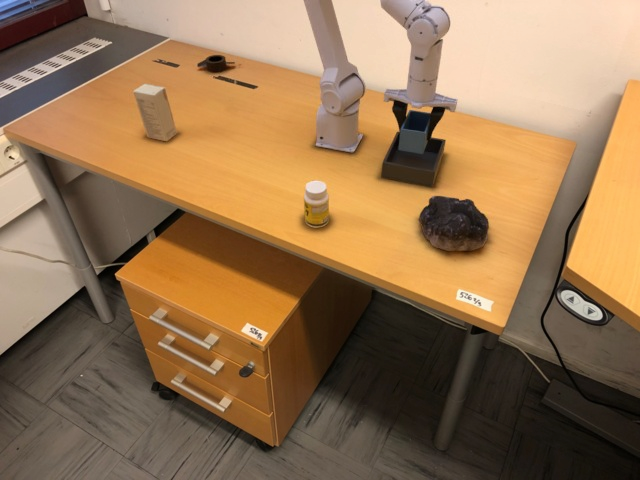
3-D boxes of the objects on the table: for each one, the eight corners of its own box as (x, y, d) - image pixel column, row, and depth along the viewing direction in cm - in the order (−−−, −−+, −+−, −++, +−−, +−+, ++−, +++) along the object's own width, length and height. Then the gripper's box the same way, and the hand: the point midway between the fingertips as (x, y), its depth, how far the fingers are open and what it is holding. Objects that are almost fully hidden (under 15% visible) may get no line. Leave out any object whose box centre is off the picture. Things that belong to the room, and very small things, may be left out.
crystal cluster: (441, 204, 106) (442, 164, 99) (504, 226, 99) (510, 185, 92) (405, 242, 99) (404, 202, 93) (470, 269, 92) (474, 228, 85)
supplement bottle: (304, 213, 104) (302, 179, 98) (327, 212, 104) (327, 178, 98) (305, 229, 100) (304, 195, 94) (329, 227, 100) (329, 193, 95)
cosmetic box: (177, 133, 127) (166, 87, 118) (166, 142, 124) (155, 95, 116) (156, 128, 129) (144, 82, 120) (145, 136, 126) (132, 90, 118)
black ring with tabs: (211, 60, 158) (209, 51, 156) (238, 66, 154) (236, 57, 153) (195, 70, 153) (193, 60, 151) (223, 76, 150) (221, 67, 148)
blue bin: (422, 154, 107) (425, 133, 103) (398, 150, 108) (400, 129, 105) (430, 134, 113) (433, 113, 109) (407, 130, 114) (409, 109, 111)
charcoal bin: (381, 177, 112) (382, 162, 109) (395, 146, 121) (396, 131, 118) (432, 187, 109) (435, 172, 106) (443, 154, 118) (445, 139, 116)
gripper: (381, 78, 99) (377, 139, 109) (457, 89, 96) (446, 151, 105) (390, 63, 104) (385, 123, 113) (463, 73, 100) (452, 134, 110)
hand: (415, 136), depth 109 cm, fingers closed on blue bin, 5 cm apart
